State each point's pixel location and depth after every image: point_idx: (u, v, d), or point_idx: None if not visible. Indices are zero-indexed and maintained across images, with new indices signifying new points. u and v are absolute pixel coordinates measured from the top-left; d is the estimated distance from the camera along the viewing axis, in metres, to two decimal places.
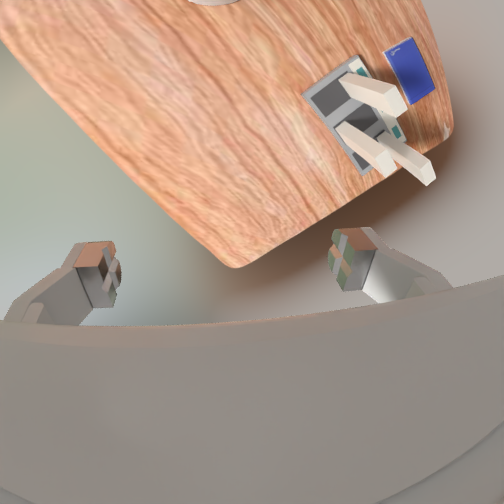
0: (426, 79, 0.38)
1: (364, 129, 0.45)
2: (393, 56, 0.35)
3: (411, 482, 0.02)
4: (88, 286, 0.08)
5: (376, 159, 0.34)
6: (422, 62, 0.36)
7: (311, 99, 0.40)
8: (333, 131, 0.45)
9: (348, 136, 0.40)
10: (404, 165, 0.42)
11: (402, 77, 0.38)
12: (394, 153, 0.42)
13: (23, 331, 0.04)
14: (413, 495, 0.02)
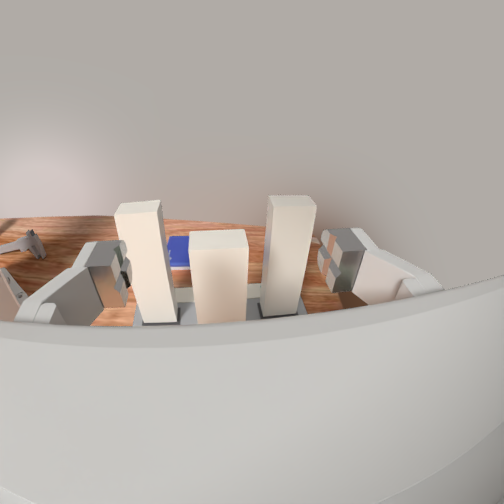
0: None
1: None
2: (172, 258, 0.41)
3: (412, 481, 0.02)
4: (100, 286, 0.08)
5: (193, 248, 0.18)
6: None
7: None
8: None
9: None
10: (298, 262, 0.28)
11: None
12: (278, 279, 0.29)
13: (23, 331, 0.04)
14: (413, 495, 0.02)
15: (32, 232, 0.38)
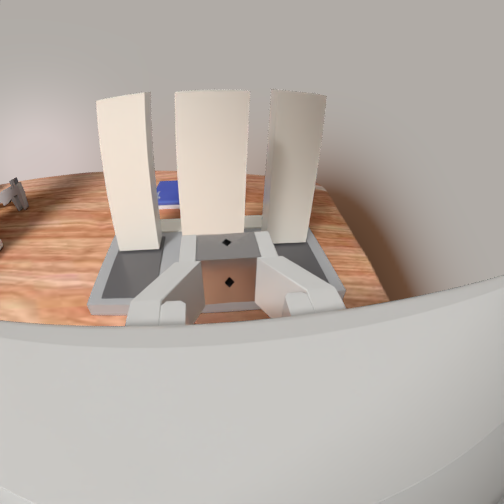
0: None
1: None
2: (161, 197, 0.35)
3: (411, 481, 0.02)
4: (209, 281, 0.08)
5: (181, 92, 0.13)
6: None
7: (105, 297, 0.20)
8: None
9: None
10: (307, 166, 0.22)
11: None
12: (285, 189, 0.23)
13: (23, 331, 0.04)
14: (413, 495, 0.02)
15: (16, 180, 0.32)
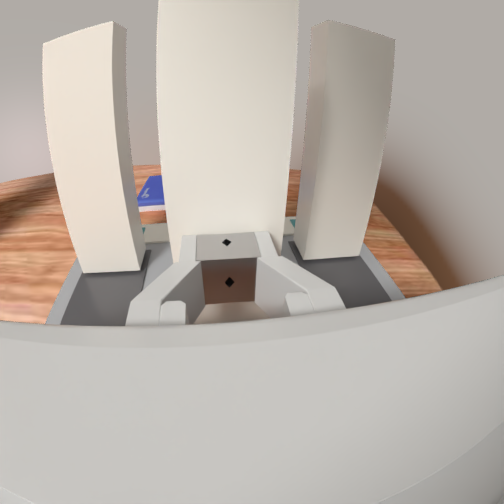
0: None
1: None
2: (150, 195, 0.26)
3: (411, 482, 0.02)
4: (209, 281, 0.08)
5: None
6: None
7: None
8: None
9: None
10: (371, 140, 0.13)
11: None
12: (337, 174, 0.14)
13: (23, 331, 0.04)
14: (413, 495, 0.02)
15: None
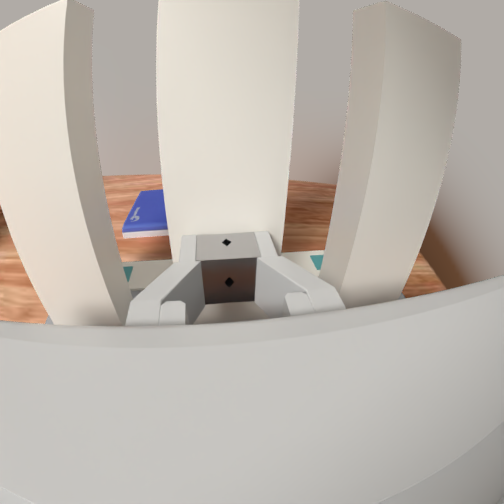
0: None
1: None
2: (140, 218, 0.22)
3: (411, 481, 0.02)
4: (209, 281, 0.08)
5: None
6: None
7: None
8: None
9: None
10: (430, 171, 0.09)
11: None
12: (386, 217, 0.10)
13: (23, 331, 0.04)
14: (413, 495, 0.02)
15: None
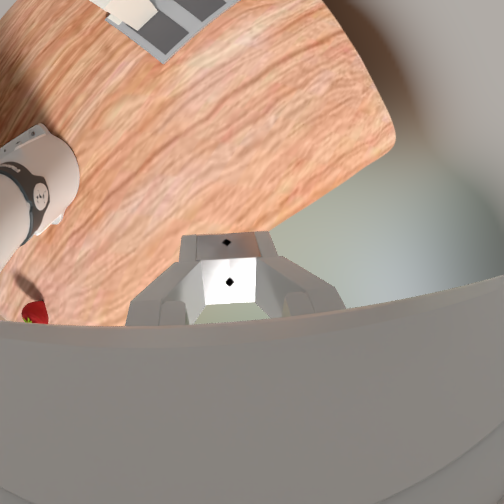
0: None
1: None
2: None
3: (412, 481, 0.02)
4: (209, 281, 0.08)
5: None
6: None
7: (166, 53, 0.29)
8: (207, 20, 0.27)
9: None
10: None
11: None
12: None
13: (23, 331, 0.04)
14: (413, 495, 0.02)
15: None
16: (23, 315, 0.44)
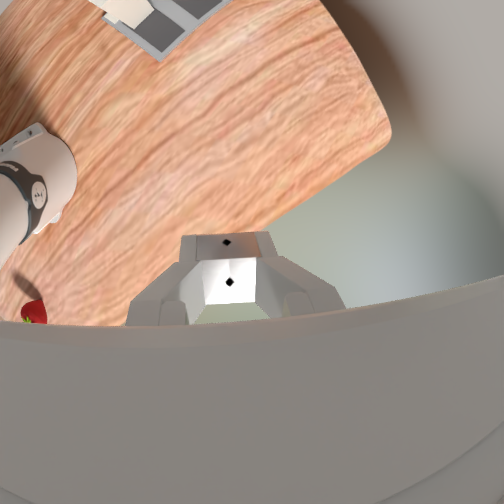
0: None
1: None
2: None
3: (411, 482, 0.02)
4: (209, 281, 0.08)
5: None
6: None
7: (163, 51, 0.29)
8: (203, 18, 0.27)
9: None
10: None
11: None
12: None
13: (23, 331, 0.04)
14: (413, 495, 0.02)
15: None
16: (22, 314, 0.44)
